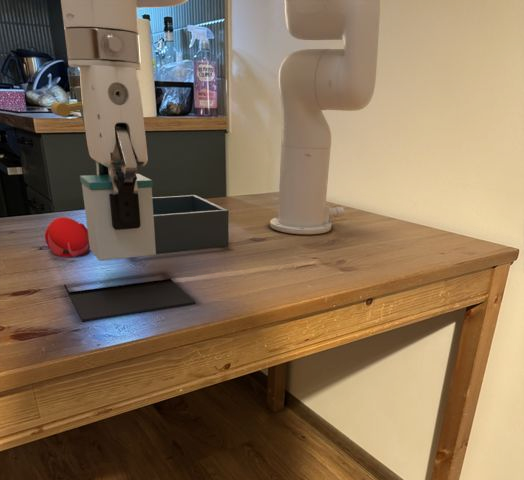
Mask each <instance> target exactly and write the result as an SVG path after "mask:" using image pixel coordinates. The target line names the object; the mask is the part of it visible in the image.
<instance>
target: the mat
mask: <svg viewBox="0 0 524 480" xmlns="http://www.w3.org/2000/svg"><path fill="white" fill-rule="evenodd" d="M63 287H64V289H65V290H66V292H67V295H68V297H69V298H70V300H71V302H72V305H73V306H74V308H75V310H76V312H77V314H78V316H79V318H80V320H81V322H82V323H83V322H89V321H96V320H103V319H109V318H114V317H115V318H116V317H120V316H121V317H122V316H127V315H133V314H139V313H146V312H151V311H157V310H158V311H159V310H165V309H171V308H178V307H183V306H189V305H196V300H194V299H193V298H192V297H191V296H190V295H189V294H188V293H187V292H186V291H185V290H183V288H181V287H180V286H179V285H178V284H177V283H176V282H175V281H174V280H173V279H172V278H165V279H157V280H149V281H143V282H141V281H140V282H133V283H127V284H119V285H111V286H105V287H97V288H90V289H89V288H88V289H82V290H75V291H70V290H69V289H68V287H67V285H66V284H63Z"/></svg>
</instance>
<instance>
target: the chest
mask: <svg viewBox="0 0 524 480" xmlns="http://www.w3.org/2000/svg"><path fill="white" fill-rule="evenodd" d="M152 202H153V217H154V232H155V248H156V255H157V254H167V253H177V252H185V251H186V252H187V251H194V250H195V251H196V250H203V249H213V248H223V247H228V246H229V209H226V208H224V207H222V206H220V205H218V204H216V203H214V202H212V201H209V200H207V199H205V198H202V197H200V196H199V195H197V194H190V195H189V194H187V195H171V196H156V197H154V196H152Z"/></svg>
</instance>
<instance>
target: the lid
mask: <svg viewBox="0 0 524 480" xmlns="http://www.w3.org/2000/svg"><path fill="white" fill-rule="evenodd" d="M73 91H74V95H75V98H76V102H72V103H67V104H66V103H64V102H61V101H54V102H52V103H51V104H50V111H51V112H52V113H53V114H54V115H56V116H58V117H62V118H67V117H69V116H70V114H71V112H77V111H79V113H80V116H81V119H82V123H83V126H84V128H85V123H84V114H83V104H82V93H81V86H73ZM93 162H94V165H95V169H96V170H97V165H96V161H95V160H94V159H93Z"/></svg>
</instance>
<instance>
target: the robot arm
mask: <svg viewBox="0 0 524 480" xmlns="http://www.w3.org/2000/svg"><path fill="white" fill-rule="evenodd" d="M188 1H189V0H60V6H61V12H62V20H63V29H64V37H65V45H66V46H65V47H66V54H67V63H68V67H71V68H79V79H80V87H81V93H82V104H83V114H84V123H85V127H84V131H85V139H86V145H87V149H88V150H87V151H88V155H89V157H90V158H91V159H92V160H93V161H94V160H95V161H96V165H97V169H96V175H109V178H110V184H111V189H112V194H109V197H110V207H111V217H112V226H113V228H114V229H115V230H122V229H134V228H139V227H140V225H141V224H140V211H139V198H138V186H137V176H136V174H137V170H138V167H145V166H146V165H147V164H148V161H149V158H148V148H147V147H148V146H147V137H146V128H145V119H144V111H143V101H142V96H141V88H140V82H139V78H138V73H137V71H141V70H142V65H141V64H142V63H141V62H142V61H141V49H140V48H141V47H140V35H139V34H140V33H139V21H138V19H139V18H138V9H155V8H157V9H159V8H169V7H170V8H172V7H176V6H180V5H184V4H185V3H187V2H188ZM284 14H285V15H284V16H285V24H286V28H287V31H288V33H289V34H290V36H291V37H293V38H295V39H297V40H303V41H340V40H341V41H342V42H343V48H307V49H300V50H296V51H293V52H291V53H290V54H288V55H286V57H285V58H284V59H283V60H282V62H281V64H280V67H279V71H278V91H279V98H280V106H281V107H280V108H281V141H280V142H281V143H280V163H279V165H280V167H279V168H280V169H279V185H278V187H279V188H278V211H277V217H274V218H271V219H270V221H269V222H270V223H269V227H270V228H271V229H272V230H274V231H277V232H281V233H286V234H292V235H319V234H325V233H328V232H330V231H331V230H332V222H331V221H330V220H331V219H332V218H338V217H339V218H340V217H344V216H345V211H346V210H345V208H344V206H339V207H338V206H337V207H332V206H331V205H328V204H327V194H328V181H329V173H330V172H329V171H330V160H331V149H332V148H331V147H332V132H331V128H330V125H329V123H328V121H327V119H326V117H325V115H324V112H323V111H341V112H342V111H345V112H347V111H348V112H351V111H352V112H355V111H356V112H357V111H361V110H363V109H365V108H366V107H367V106H368V105H369V104H370V103H371V101H372V99H373V95H374V92H375V88H376V80H377V66H378V49H379V35H380V33H379V32H380V18H381V17H380V15H381V0H284ZM84 123H83V124H84ZM96 165H95V166H96ZM116 174H118V175H117V176H118V177H117V178H116Z"/></svg>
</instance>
